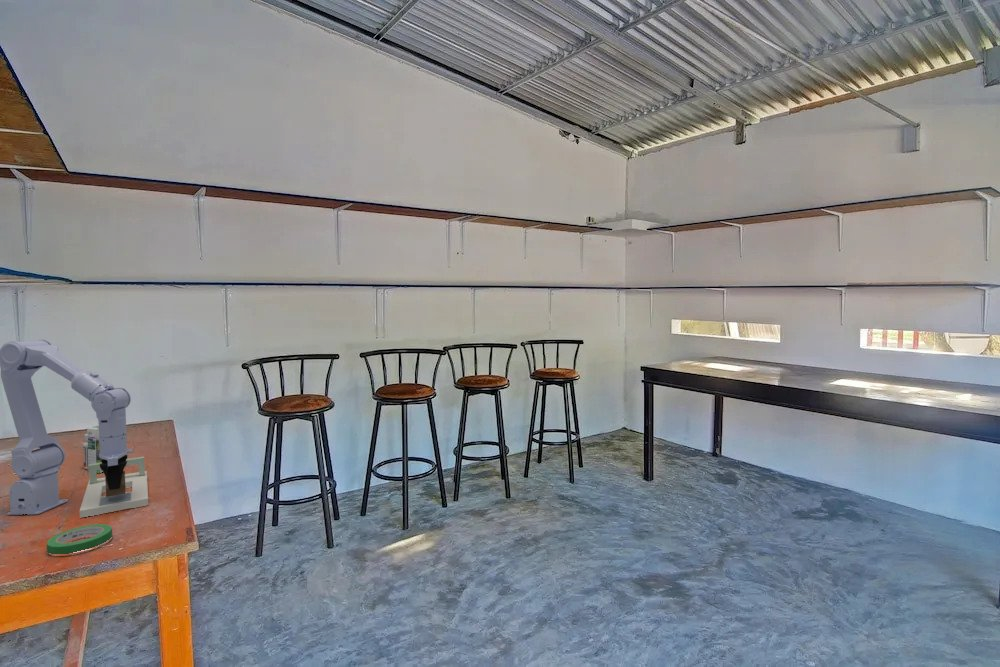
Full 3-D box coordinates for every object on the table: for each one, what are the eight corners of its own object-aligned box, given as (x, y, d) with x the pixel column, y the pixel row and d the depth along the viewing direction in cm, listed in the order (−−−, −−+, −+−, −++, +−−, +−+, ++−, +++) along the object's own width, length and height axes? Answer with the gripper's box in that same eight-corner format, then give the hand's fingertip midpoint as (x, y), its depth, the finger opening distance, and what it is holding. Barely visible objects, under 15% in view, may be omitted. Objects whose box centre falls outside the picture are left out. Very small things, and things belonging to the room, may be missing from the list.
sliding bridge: (144, 474, 154) (144, 457, 154) (89, 483, 147) (89, 465, 147) (144, 473, 156) (144, 456, 156) (90, 481, 148) (89, 464, 148)
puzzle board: (148, 506, 135) (148, 497, 135) (79, 518, 127) (79, 509, 126) (146, 477, 159) (146, 470, 159) (89, 486, 151) (89, 478, 151)
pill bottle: (111, 465, 173) (111, 432, 173) (93, 470, 167) (93, 436, 167) (97, 464, 174) (96, 431, 174) (78, 469, 168) (77, 435, 168)
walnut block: (125, 493, 134) (124, 474, 134) (106, 496, 131) (105, 477, 131) (125, 489, 137) (124, 470, 137) (106, 492, 135) (106, 473, 135)
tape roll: (43, 563, 104) (43, 550, 104) (50, 544, 113) (49, 532, 113) (111, 548, 111) (111, 536, 111) (113, 531, 120) (112, 520, 120)
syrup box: (87, 472, 165) (85, 427, 165) (107, 467, 171) (105, 424, 170) (98, 474, 163) (96, 429, 163) (118, 468, 169) (116, 425, 168)
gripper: (131, 438, 130) (133, 491, 130) (132, 428, 142) (133, 476, 142) (96, 442, 126) (98, 496, 126) (99, 432, 138) (101, 481, 138)
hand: (115, 486), depth 134 cm, fingers closed on walnut block, 4 cm apart
